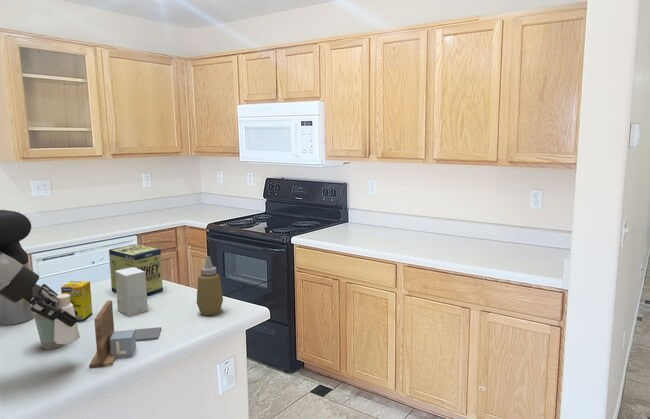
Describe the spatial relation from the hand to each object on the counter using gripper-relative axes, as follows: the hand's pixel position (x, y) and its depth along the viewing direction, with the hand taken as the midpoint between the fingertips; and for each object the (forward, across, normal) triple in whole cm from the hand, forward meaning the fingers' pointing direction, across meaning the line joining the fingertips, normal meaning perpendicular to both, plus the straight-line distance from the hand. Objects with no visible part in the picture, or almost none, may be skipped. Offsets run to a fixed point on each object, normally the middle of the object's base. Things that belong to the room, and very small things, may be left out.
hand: (74, 319), depth 112 cm
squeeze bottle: (+34, -20, +17) cm, 43 cm away
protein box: (+21, -51, +4) cm, 55 cm away
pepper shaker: (+2, 0, -5) cm, 5 cm away
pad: (+20, -10, +4) cm, 23 cm away
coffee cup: (+4, -15, -13) cm, 20 cm away
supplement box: (+8, -33, -9) cm, 35 cm away
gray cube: (+15, -2, -1) cm, 15 cm away
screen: (+13, -3, -4) cm, 13 cm away
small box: (+19, -32, +2) cm, 37 cm away
